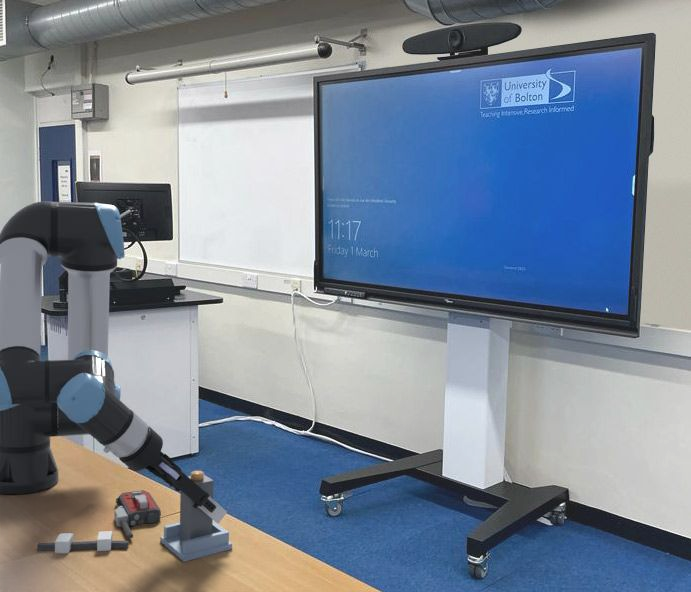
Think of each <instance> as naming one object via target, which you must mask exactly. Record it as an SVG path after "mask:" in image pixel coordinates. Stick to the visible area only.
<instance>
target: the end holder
mask: <svg viewBox="0 0 691 592" xmlns="http://www.w3.org/2000/svg"><path fill="white" fill-rule="evenodd" d="M159 539H160V541H159V542H160V543H161V544H162V545H163V544H164V545H163V546H164V547H166V549H168V550H169V551H170V552H171V553H173V555H175V556H176V557H177V558H178V559H180V560H181V561H182V562H185V563H186V562H189V561H192V560H195V559H199V558H203V557H206V556H211V555H214V554H217V553H221V552H225V551H229V550H232V549H233V543H232V542H231V541H230V532H229V531H228V530H227V529H225V528H224V527H222V526H221V525H220V524H218V523H216V522H215V521H214V520H213V524H212V534H210V535H206V536H202V537H198V538H194V539H190V540H186V541H182V540H181V539H180V521H179V522H176V523H172V524H167V525H164V526H163V535H161V536H159Z"/></svg>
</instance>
